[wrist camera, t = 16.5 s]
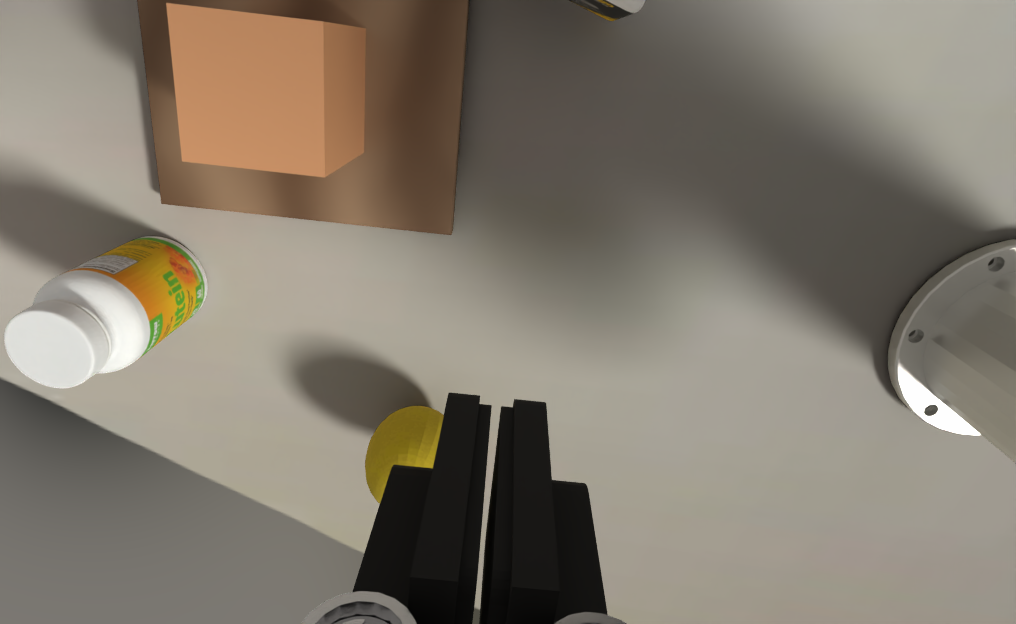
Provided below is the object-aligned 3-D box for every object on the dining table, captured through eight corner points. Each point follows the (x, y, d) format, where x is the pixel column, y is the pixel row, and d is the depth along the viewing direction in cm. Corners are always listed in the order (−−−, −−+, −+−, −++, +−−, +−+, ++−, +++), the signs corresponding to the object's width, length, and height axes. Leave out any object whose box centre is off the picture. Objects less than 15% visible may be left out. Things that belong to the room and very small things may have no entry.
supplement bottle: (216, 321, 37) (120, 405, 28) (128, 316, 37) (5, 399, 28) (203, 236, 35) (95, 298, 26) (110, 231, 35) (-30, 292, 26)
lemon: (432, 368, 38) (410, 443, 31) (482, 430, 40) (473, 515, 33) (364, 409, 40) (328, 491, 32) (416, 467, 41) (393, 557, 34)
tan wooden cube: (365, 28, 30) (323, 21, 23) (364, 152, 32) (324, 177, 26) (243, 13, 30) (166, 2, 23) (250, 139, 32) (182, 161, 26)
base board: (473, -51, 29) (471, -54, 28) (452, 230, 35) (451, 235, 34) (138, -91, 29) (125, -96, 28) (171, 199, 34) (161, 203, 33)
